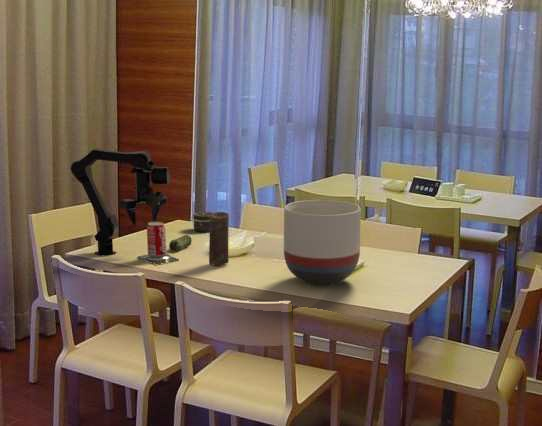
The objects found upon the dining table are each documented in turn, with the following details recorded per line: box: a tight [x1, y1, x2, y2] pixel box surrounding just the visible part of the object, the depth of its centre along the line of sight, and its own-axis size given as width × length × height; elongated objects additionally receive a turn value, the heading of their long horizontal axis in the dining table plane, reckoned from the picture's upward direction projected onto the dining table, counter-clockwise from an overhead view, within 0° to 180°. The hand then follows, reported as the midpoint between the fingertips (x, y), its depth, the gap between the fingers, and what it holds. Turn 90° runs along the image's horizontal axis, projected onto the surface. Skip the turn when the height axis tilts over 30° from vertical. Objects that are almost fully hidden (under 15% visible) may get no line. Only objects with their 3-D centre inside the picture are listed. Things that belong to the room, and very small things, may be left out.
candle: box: [208, 211, 230, 267], centre depth 312 cm, size 8×7×20 cm
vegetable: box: [168, 234, 192, 252], centre depth 338 cm, size 14×5×5 cm, turn 157°
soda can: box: [146, 221, 167, 258], centre depth 321 cm, size 7×7×13 cm
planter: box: [283, 199, 362, 286], centre depth 290 cm, size 27×27×27 cm
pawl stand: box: [136, 253, 180, 265], centre depth 322 cm, size 14×10×1 cm
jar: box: [192, 211, 213, 234], centre depth 369 cm, size 10×10×8 cm
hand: (144, 223), depth 326 cm, fingers open, 9 cm apart
